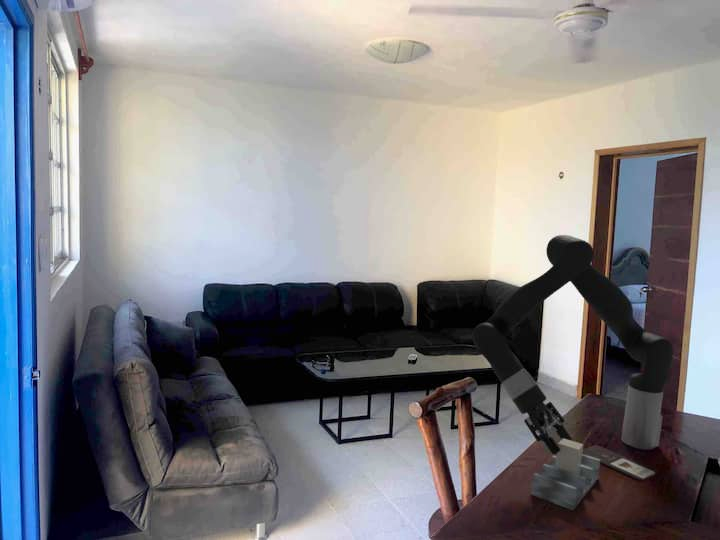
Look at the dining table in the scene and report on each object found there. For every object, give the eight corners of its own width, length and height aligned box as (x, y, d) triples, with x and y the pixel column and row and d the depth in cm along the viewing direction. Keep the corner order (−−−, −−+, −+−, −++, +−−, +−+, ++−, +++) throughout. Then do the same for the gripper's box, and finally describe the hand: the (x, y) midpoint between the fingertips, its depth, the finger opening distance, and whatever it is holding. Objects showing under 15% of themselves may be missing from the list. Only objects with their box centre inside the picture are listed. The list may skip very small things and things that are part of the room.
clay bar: (553, 481, 146) (558, 443, 144) (558, 475, 149) (562, 438, 147) (574, 488, 143) (579, 449, 141) (578, 482, 146) (583, 444, 145)
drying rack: (531, 494, 141) (533, 474, 140) (559, 465, 157) (561, 447, 156) (572, 510, 135) (575, 489, 134) (598, 478, 151) (600, 459, 150)
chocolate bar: (596, 444, 170) (657, 471, 156) (595, 447, 171) (657, 474, 156) (577, 451, 165) (639, 479, 151) (577, 454, 165) (639, 483, 151)
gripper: (524, 390, 143) (565, 449, 138) (544, 377, 154) (584, 431, 149) (501, 405, 147) (541, 463, 142) (523, 391, 158) (560, 444, 153)
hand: (563, 447), depth 145 cm, fingers open, 8 cm apart
